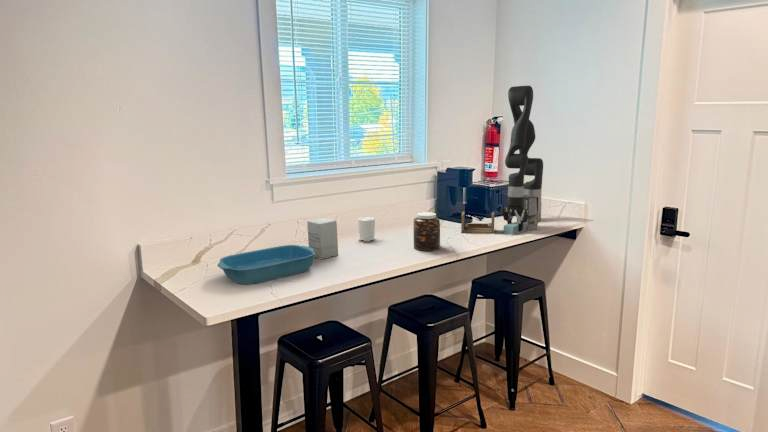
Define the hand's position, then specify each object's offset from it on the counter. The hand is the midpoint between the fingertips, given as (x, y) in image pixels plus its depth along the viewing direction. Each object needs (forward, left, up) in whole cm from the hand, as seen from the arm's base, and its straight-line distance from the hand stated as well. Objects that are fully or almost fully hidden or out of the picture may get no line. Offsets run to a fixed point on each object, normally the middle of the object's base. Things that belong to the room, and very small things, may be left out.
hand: (514, 229), depth 253 cm
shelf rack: (+11, -14, -1) cm, 18 cm away
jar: (+51, -12, -1) cm, 52 cm away
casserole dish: (+118, -32, -1) cm, 122 cm away
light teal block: (0, 0, -1) cm, 1 cm away
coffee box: (-11, 0, -1) cm, 11 cm away
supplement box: (+89, -36, -1) cm, 96 cm away
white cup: (+58, -43, -1) cm, 72 cm away
